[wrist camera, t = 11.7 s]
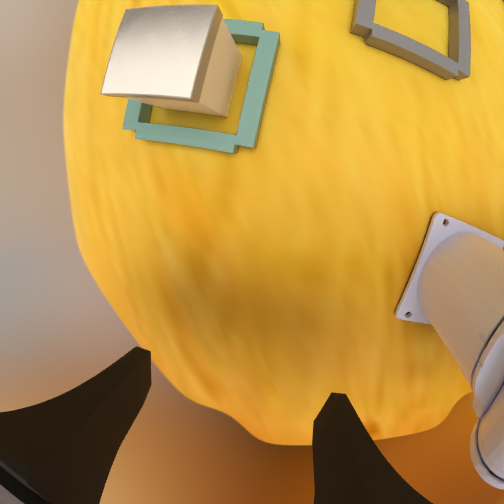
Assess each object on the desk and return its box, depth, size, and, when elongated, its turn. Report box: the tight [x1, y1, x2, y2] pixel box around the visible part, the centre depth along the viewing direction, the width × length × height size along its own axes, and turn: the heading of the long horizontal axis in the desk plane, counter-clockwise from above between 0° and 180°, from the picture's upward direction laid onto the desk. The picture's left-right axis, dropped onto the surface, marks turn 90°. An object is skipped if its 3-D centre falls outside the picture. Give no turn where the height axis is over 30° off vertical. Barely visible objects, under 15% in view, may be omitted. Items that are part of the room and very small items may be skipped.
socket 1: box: [123, 19, 280, 153], centre depth 14 cm, size 8×8×2 cm
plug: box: [101, 5, 242, 117], centre depth 11 cm, size 4×4×7 cm
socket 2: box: [350, 0, 471, 80], centre depth 10 cm, size 8×8×2 cm
